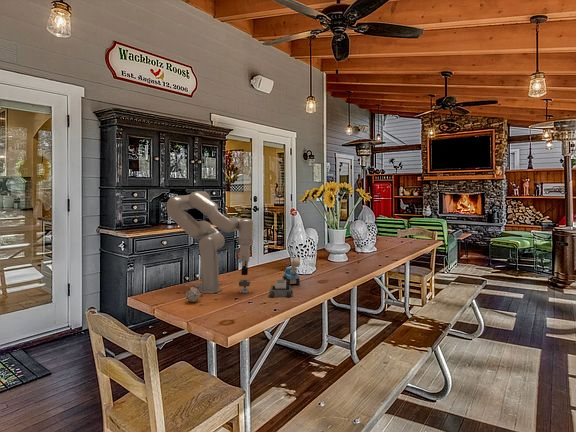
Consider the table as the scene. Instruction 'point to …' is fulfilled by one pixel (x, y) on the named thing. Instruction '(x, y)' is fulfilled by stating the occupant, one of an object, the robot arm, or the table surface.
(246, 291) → the axle mount
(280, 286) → the engine block
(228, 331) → the table surface
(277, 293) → the chassis
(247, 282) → the wheel
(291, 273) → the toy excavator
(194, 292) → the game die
